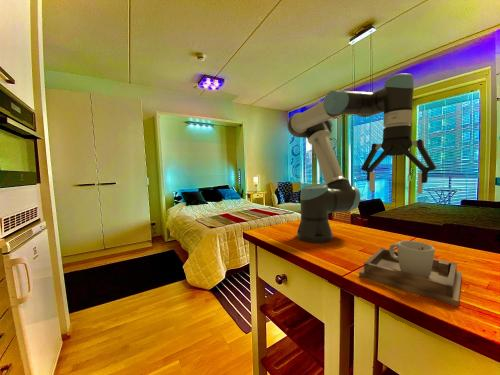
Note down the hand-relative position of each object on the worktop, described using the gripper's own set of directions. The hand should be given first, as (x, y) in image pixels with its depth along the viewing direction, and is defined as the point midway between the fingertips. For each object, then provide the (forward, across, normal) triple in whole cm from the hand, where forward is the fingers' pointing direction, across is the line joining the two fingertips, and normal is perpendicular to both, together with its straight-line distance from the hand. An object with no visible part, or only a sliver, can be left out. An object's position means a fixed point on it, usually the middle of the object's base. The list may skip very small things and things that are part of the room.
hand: (394, 192), depth 71 cm
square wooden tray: (+22, +8, -13) cm, 26 cm away
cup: (+21, +8, -13) cm, 25 cm away
